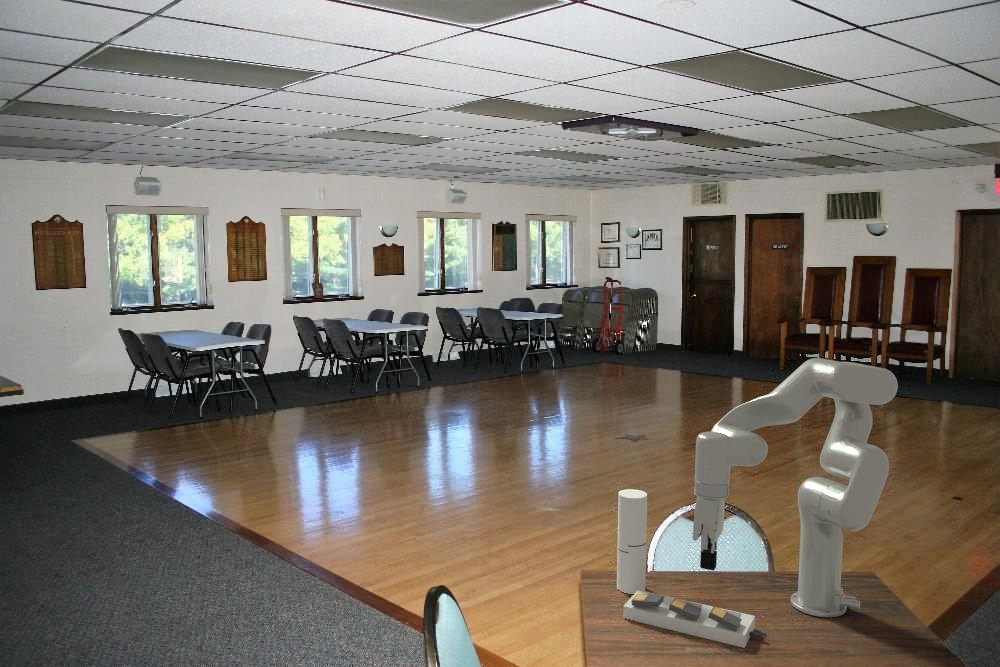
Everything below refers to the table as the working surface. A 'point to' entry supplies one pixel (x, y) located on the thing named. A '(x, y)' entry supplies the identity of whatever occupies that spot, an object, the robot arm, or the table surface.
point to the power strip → (692, 621)
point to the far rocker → (647, 600)
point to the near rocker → (724, 618)
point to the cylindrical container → (631, 540)
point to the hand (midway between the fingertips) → (708, 567)
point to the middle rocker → (685, 609)
